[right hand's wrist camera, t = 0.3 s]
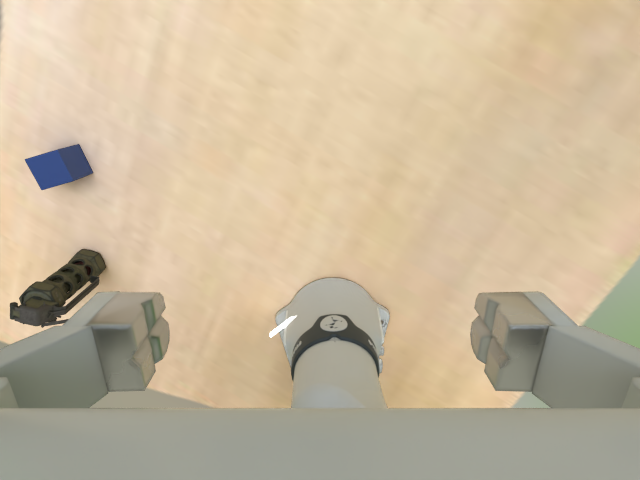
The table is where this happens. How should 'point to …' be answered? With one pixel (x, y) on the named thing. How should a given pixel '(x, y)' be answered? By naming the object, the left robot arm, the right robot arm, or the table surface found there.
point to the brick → (59, 166)
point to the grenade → (58, 291)
